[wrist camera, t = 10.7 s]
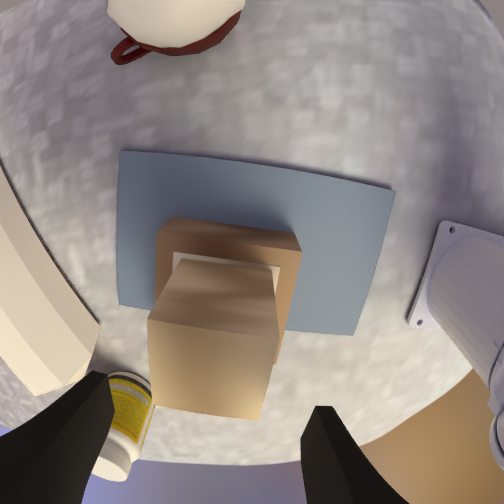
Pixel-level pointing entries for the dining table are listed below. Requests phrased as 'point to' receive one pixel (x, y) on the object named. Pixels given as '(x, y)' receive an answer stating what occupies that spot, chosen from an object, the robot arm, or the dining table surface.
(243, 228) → the walnut base block
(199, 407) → the maple block
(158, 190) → the board
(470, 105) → the dining table surface
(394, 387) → the dining table surface
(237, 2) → the cocoa
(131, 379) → the supplement bottle
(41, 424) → the robot arm
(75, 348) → the crystal
